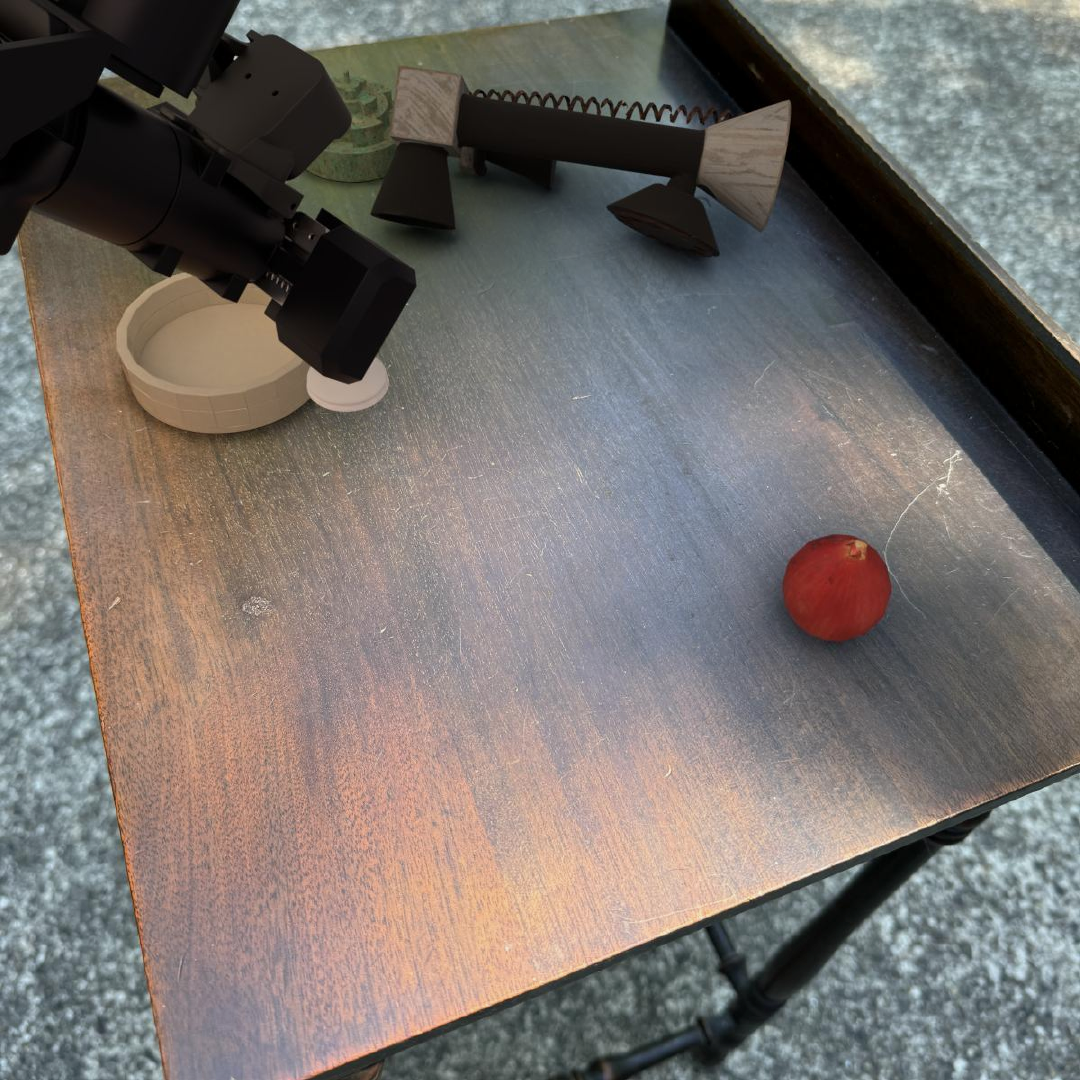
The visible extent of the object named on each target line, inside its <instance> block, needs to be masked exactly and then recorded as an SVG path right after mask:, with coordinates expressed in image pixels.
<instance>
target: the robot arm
mask: <svg viewBox="0 0 1080 1080" xmlns="http://www.w3.org/2000/svg"><path fill="white" fill-rule="evenodd" d="M240 3H241V0H0V256H6V255H8V254H9V253H10V252H11V250H12V248H13V246H14V244H15V241H16V240H17V238H18V236H19V233H20V231H21V229H22V227H23V226H24V224H25V222H26V220H27V217H28V215H29V213H30V212H31V213H34V214H37V215H39V216H42V217H43V218H46V219H48V220H52V221H54V222H57V223H60V224H62V225H64V226H67V227H69V228H72V229H75V230H77V231H79V232H82V233H85V234H87V235H90V236H92V237H95V238H97V239H99V240H102V241H105V242H107V243H109V244H112V245H114V246H117V247H119V248H123V249H124V250H126V251H128V253H130V254H131V255H132V256H133V257H135V258H136V259H137V260H138V261H140V262H141V263H142V264H143V265H145V266H146V267H147V268H148V269H149V270H151V271H152V272H154V273H157V274H159V275H162V276H165V277H166V278H168V277H170V278H171V276H173V274H174V272H175V270H178V271H180V272H181V273H183V272H185V273H187V274H190V275H192V276H195V277H197V278H198V279H199V278H200V279H199V280H200V281H202V282H203V283H204V284H205V285H207V286H208V287H209V288H210V289H212V290H213V291H214V292H215V293H217V294H218V295H219V296H220V297H222V298H224V299H227V300H229V301H232V302H234V303H238V301H239V299H240V297H241V295H242V294H243V292H244V290H245V288H246V286H247V284H248V283H249V284H254V285H256V286H257V287H258V288H259V289H261V290H262V291H263V292H265V293H266V294H267V295H268V296H270V297H271V298H272V299H271V301H270V303H269V304H268V306H267V308H266V310H265V312H264V314H265V315H266V316H268V317H269V318H270V319H271V320H273V321H274V322H275V323H276V329H277V334H278V340H279V341H280V342H281V343H282V344H283V345H285V346H286V347H287V348H288V349H290V350H291V351H292V352H294V353H295V354H296V355H297V356H299V357H300V358H301V359H302V360H304V361H305V362H306V363H307V364H309V365H310V366H311V367H312V368H314V369H315V370H316V371H317V372H319V373H320V374H321V375H322V376H324V377H327V378H330V379H333V380H336V381H339V382H342V383H345V384H348V385H349V384H352V383H355V382H358V381H362V379H363V378H364V376H365V374H366V372H367V371H368V369H369V367H370V366H371V364H372V362H373V360H374V359H375V357H377V355H378V354H379V352H380V350H381V348H382V347H383V345H384V343H385V342H386V340H387V339H388V336H389V335H390V333H391V331H392V330H393V328H394V326H395V325H396V323H397V321H398V319H399V317H400V316H401V314H402V312H403V311H404V309H405V307H406V306H407V304H408V302H409V300H410V299H411V297H412V295H413V293H414V292H415V290H416V289H417V277H416V271H415V270H416V269H414V268H413V267H411V266H410V265H408V264H407V263H405V262H404V261H403V260H401V259H400V258H399V257H397V256H396V255H394V254H392V253H391V252H390V251H388V250H387V249H385V248H384V247H383V246H381V245H380V244H378V243H376V242H375V241H373V239H372V240H371V239H370V238H368V237H367V236H365V235H364V234H362V233H361V232H359V231H357V230H356V229H354V228H352V227H351V226H350V225H348V224H347V223H346V222H344V221H343V220H341V219H340V218H338V217H337V216H335V215H334V214H333V213H331V212H330V211H328V210H327V209H325V208H324V207H321V208H320V210H319V211H318V213H317V215H316V217H315V218H313V217H312V216H310V215H308V214H307V213H305V212H304V211H301V210H298V209H299V206H300V204H301V203H302V201H303V199H304V198H305V195H304V194H303V193H301V192H300V191H299V190H297V189H296V188H294V187H293V186H291V185H289V184H287V183H286V182H288V181H293V180H295V179H296V178H298V177H299V176H301V175H302V174H303V173H304V172H305V171H306V169H307V168H308V167H309V166H310V165H311V163H312V162H313V161H314V160H315V159H316V158H317V157H318V156H319V155H320V154H321V153H322V152H323V151H324V150H325V149H326V148H327V147H328V146H329V145H330V144H331V143H332V142H333V141H334V140H335V139H340V138H341V137H342V136H343V135H344V134H345V133H346V132H347V131H348V129H349V127H350V125H351V122H352V116H351V114H350V112H349V110H348V108H347V106H346V105H345V103H344V101H343V99H342V98H341V96H340V94H339V92H338V91H337V89H336V87H335V85H334V83H333V82H332V78H331V76H330V75H329V73H328V70H327V69H326V67H325V66H324V64H323V62H321V60H319V59H318V58H317V57H315V56H313V55H312V54H311V53H310V54H309V52H306V51H305V50H303V49H302V48H301V47H299V46H296V45H295V44H294V43H291V42H290V41H288V40H287V39H285V38H283V37H281V36H280V35H277V34H273V33H269V34H264V35H262V34H260V33H259V32H257V31H255V30H254V29H249V31H248V32H247V33H246V34H245V36H246V38H247V39H248V41H249V42H245V41H242V40H240V39H238V38H236V37H235V36H233V35H232V34H230V33H227V32H226V31H227V28H228V26H229V24H230V22H231V20H232V18H233V16H234V14H235V12H236V10H237V9H238V6H239V5H240ZM235 57H236V58H235ZM105 69H107V71H109V72H111V73H113V74H115V75H116V76H118V77H120V78H121V79H123V80H124V81H127V82H128V83H129V84H131V85H132V86H135V87H136V88H138V89H140V90H141V91H143V92H145V93H146V94H149V95H151V96H152V97H154V98H156V99H160V98H161V96H162V95H163V92H164V91H165V88H167V89H169V90H170V91H172V92H174V93H175V94H177V95H179V96H181V98H184V99H186V100H188V99H189V97H190V96H191V94H192V92H193V94H194V95H195V97H196V98H195V101H194V103H195V104H194V106H195V107H194V108H193V110H192V111H191V112H190V114H189V113H187V112H185V111H184V110H182V109H180V108H179V107H177V106H176V105H173V104H172V103H170V102H169V101H168V100H167V101H162V102H160V103H158V104H155V105H153V106H149V107H147V108H145V107H144V106H141V105H140V104H138V103H136V102H134V101H133V100H131V99H129V98H127V97H125V96H124V95H122V94H120V93H118V92H116V91H114V90H113V89H111V88H109V87H107V86H106V85H104V84H102V83H100V82H99V80H100V79H101V76H102V74H103V72H104V70H105Z"/></svg>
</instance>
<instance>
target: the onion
mask: <svg viewBox="0 0 1080 1080" xmlns="http://www.w3.org/2000/svg"><path fill="white" fill-rule="evenodd" d="M781 584H782V585H781V586H782V595H783V601H784V606H785V608H786V611H787V612H788V614H789V615H790V617H791V618H792V620H793V622H794V624H795V625H796V626H798V627H799V628H800V629H802V630H803V631H804V632H805V633H807V634H808V635H810V636H812V637H815V638H817V639H820V640H823V641H825V642H826V641H827V642H841V643H842V642H845V641H848V640H850V639H854V638H857V637H860V636H863V635H866V634H867V633H869V631H870V630H871V629H873V628H874V627H875V626H876V625H877V624H878V623H879V622H881V620H882V619H883V618H884V616H885V614H886V610H887V608H888V605H889V601H890V599H891V596H892V583H891V579H890V572H889V568H888V566H887V564H886V563H885V561H884V560H883V558H882V557H881V555H880V553H879V552H878V551H877V550H876V549H875V548H874V547H872V546H871V545H870V544H869V543H868V542H867V541H866V540H864V539H861V538H859V537H857V536H854V535H852V534H850V535H849V534H839V533H832V534H828V535H825V536H821V537H818V538H815V539H812V540H809V541H808V542H807V543H805V544H804V545H803V546H802V547H801V548H800V549H799V550H798V551H796V553H794V555H793V556H791V558H790V559H789V561H788V563H787V565H786V568H785V571H784V574H783V578H782V582H781Z"/></svg>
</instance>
